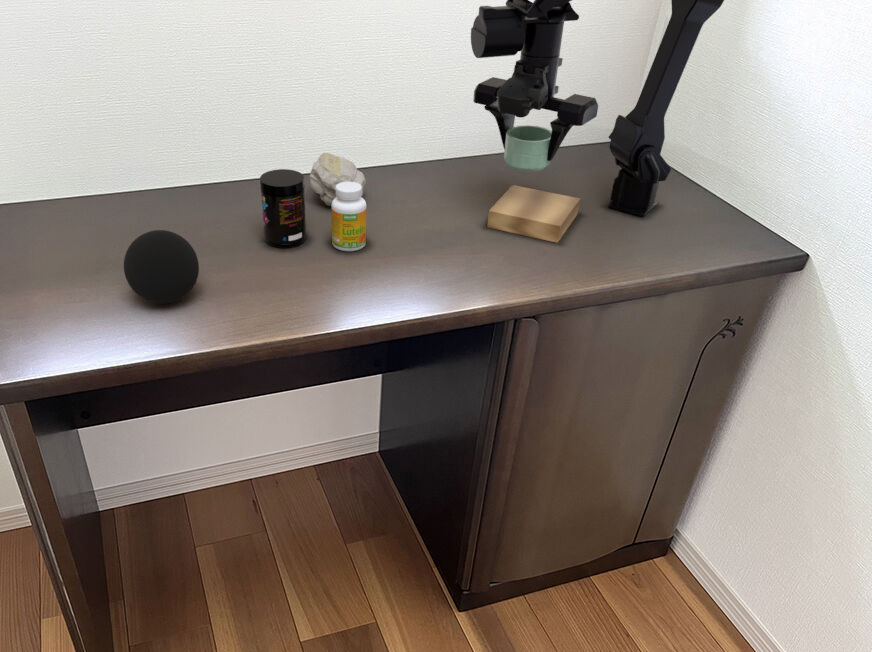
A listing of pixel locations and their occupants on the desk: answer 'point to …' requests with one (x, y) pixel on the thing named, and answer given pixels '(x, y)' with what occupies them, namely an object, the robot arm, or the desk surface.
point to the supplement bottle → (348, 217)
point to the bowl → (527, 148)
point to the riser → (533, 213)
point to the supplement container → (283, 207)
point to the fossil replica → (333, 176)
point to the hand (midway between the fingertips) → (527, 154)
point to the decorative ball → (161, 266)
